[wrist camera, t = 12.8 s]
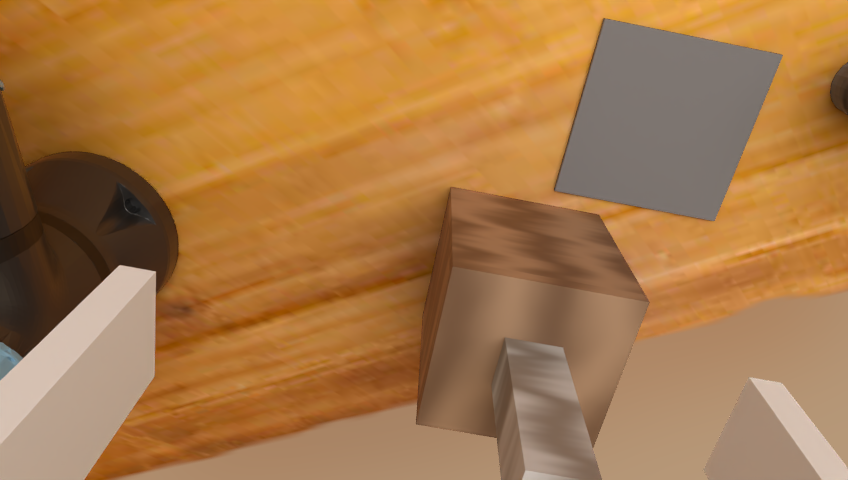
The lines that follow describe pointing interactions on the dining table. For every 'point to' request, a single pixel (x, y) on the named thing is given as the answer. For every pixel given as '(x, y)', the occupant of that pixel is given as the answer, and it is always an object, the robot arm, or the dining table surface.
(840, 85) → the beverage cup
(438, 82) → the dining table surface
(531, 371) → the wooden block with peg
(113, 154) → the dining table surface
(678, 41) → the mat
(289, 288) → the dining table surface
